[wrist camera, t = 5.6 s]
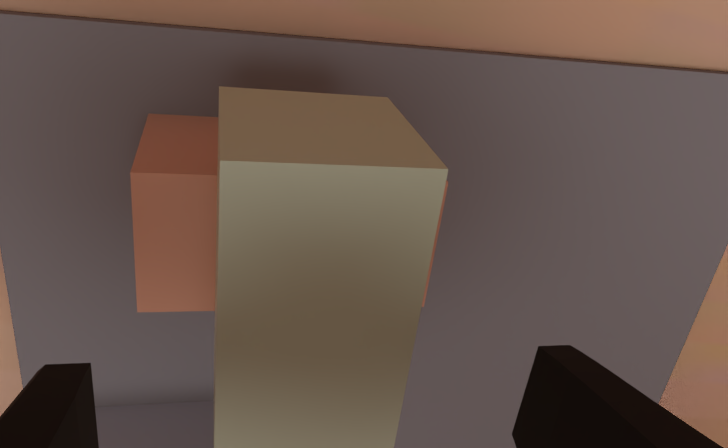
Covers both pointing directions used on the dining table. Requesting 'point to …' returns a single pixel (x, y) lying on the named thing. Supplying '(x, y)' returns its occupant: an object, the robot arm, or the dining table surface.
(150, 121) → the terracotta brick
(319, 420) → the beige brick
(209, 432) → the slate brick
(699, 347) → the dining table surface
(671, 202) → the mat
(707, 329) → the dining table surface
